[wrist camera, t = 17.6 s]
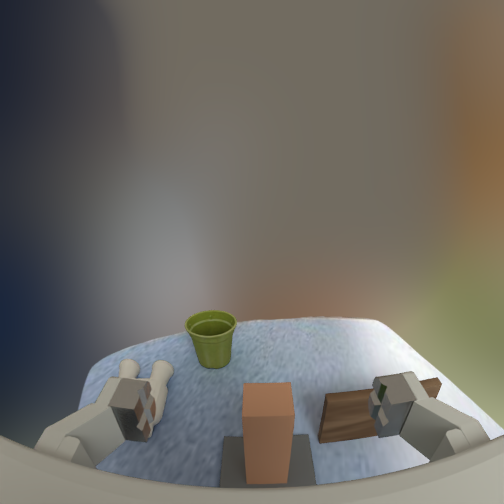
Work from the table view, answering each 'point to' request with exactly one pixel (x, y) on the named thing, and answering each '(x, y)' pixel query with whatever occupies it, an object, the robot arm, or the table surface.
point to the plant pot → (212, 336)
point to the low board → (355, 413)
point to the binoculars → (151, 382)
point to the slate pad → (236, 478)
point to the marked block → (267, 431)
